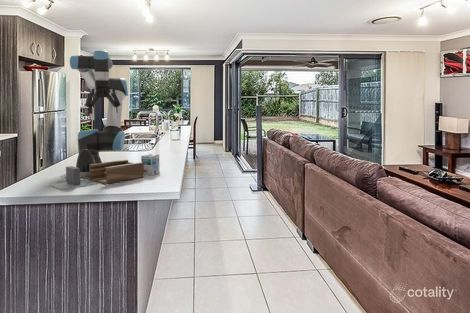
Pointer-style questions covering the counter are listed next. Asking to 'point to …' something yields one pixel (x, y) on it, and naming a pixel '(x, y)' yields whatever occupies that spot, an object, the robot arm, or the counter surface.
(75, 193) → the counter surface
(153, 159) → the light bulb box
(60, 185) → the cover plate
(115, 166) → the walnut box
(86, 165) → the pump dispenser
